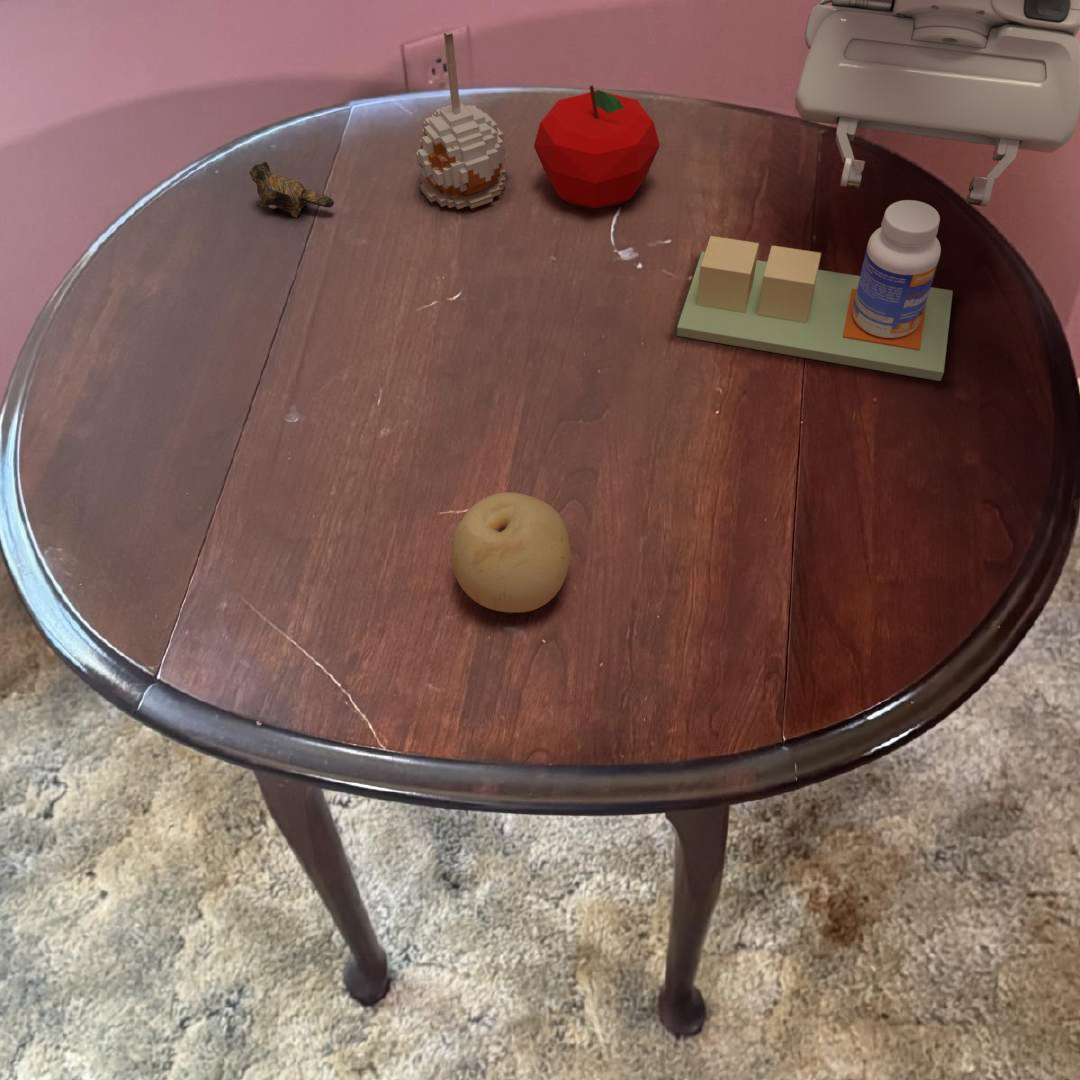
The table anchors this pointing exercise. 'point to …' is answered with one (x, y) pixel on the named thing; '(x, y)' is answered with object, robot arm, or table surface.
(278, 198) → the cat figurine
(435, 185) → the caramel apple
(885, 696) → the table surface
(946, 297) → the word mat
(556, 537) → the apple
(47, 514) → the table surface
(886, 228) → the pill bottle
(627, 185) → the apple
